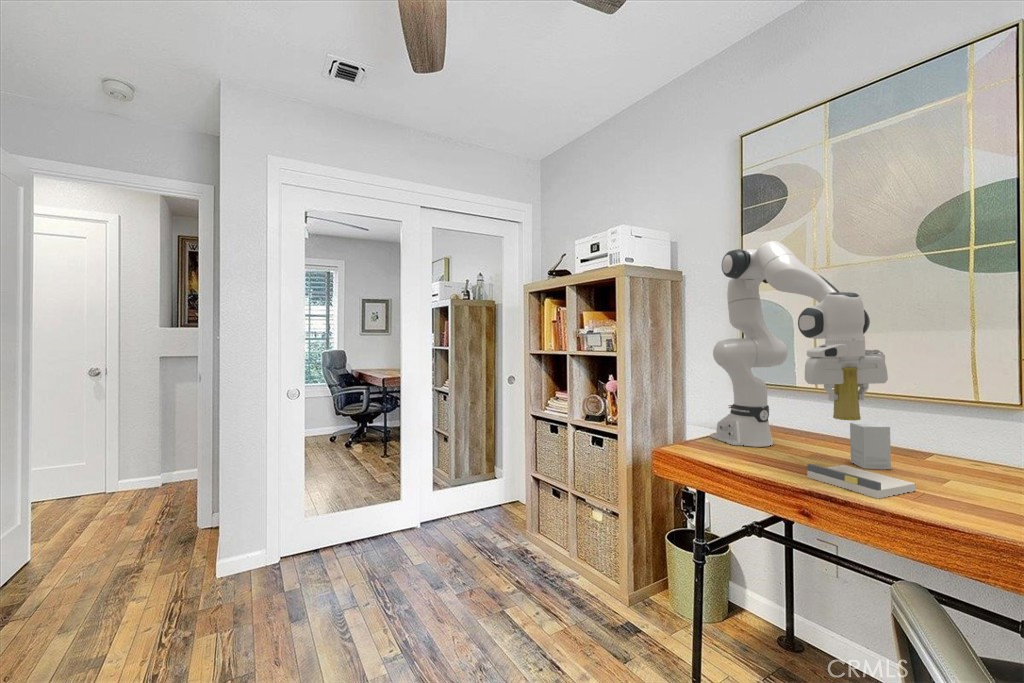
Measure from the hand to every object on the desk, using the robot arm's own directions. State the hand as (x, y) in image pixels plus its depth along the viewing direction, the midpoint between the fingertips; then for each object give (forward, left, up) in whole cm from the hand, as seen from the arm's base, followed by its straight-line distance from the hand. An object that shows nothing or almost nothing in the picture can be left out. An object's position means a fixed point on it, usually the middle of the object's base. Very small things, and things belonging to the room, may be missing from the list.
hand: (846, 400), depth 123 cm
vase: (0, 0, -5) cm, 5 cm away
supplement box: (-6, +19, -22) cm, 29 cm away
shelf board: (+4, -1, -22) cm, 22 cm away
